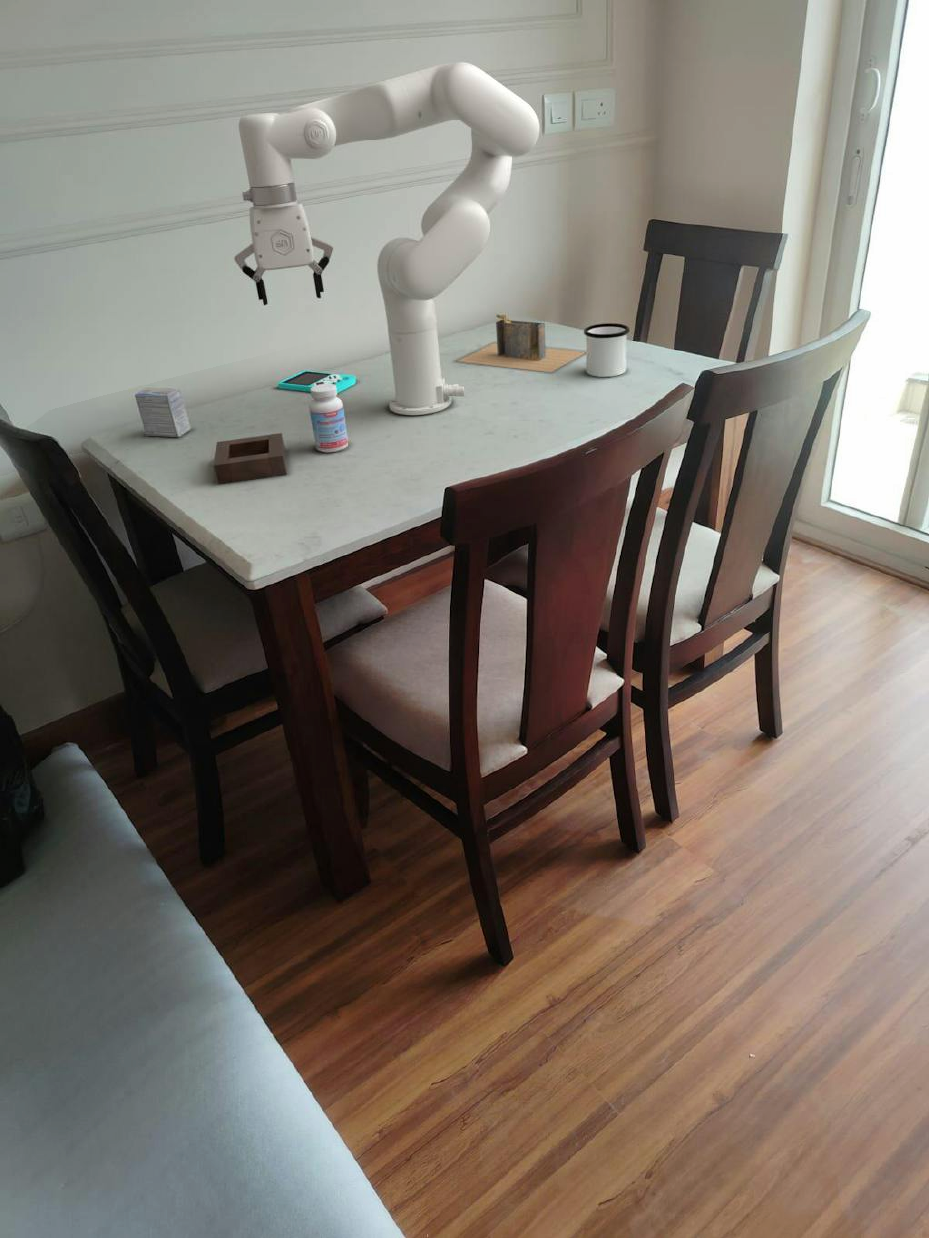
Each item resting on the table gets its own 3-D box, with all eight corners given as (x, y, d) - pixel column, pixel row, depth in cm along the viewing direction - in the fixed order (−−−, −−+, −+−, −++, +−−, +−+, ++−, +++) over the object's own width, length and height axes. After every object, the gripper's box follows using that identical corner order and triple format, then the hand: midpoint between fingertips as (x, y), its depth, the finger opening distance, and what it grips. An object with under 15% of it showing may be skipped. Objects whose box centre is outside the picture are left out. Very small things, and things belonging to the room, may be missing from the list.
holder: (285, 450, 163) (281, 432, 161) (286, 474, 153) (282, 455, 152) (220, 460, 162) (216, 441, 160) (218, 484, 152) (213, 465, 150)
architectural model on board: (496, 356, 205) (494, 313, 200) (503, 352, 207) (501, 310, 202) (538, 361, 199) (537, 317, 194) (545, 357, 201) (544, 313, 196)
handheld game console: (333, 395, 190) (332, 388, 189) (276, 388, 197) (275, 382, 196) (360, 381, 197) (360, 375, 196) (304, 375, 204) (303, 369, 204)
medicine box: (191, 430, 177) (181, 388, 173) (178, 438, 174) (167, 395, 169) (158, 428, 180) (147, 386, 175) (145, 436, 176) (133, 394, 172)
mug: (616, 380, 183) (617, 336, 178) (576, 376, 188) (575, 332, 183) (640, 364, 191) (642, 321, 187) (601, 360, 196) (601, 318, 191)
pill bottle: (322, 456, 160) (312, 395, 154) (311, 446, 164) (301, 387, 158) (353, 448, 162) (344, 388, 156) (342, 438, 166) (332, 380, 160)
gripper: (222, 204, 146) (244, 310, 156) (326, 193, 149) (341, 298, 158) (223, 199, 153) (244, 302, 162) (323, 188, 155) (338, 290, 164)
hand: (292, 300), depth 160 cm, fingers open, 9 cm apart
